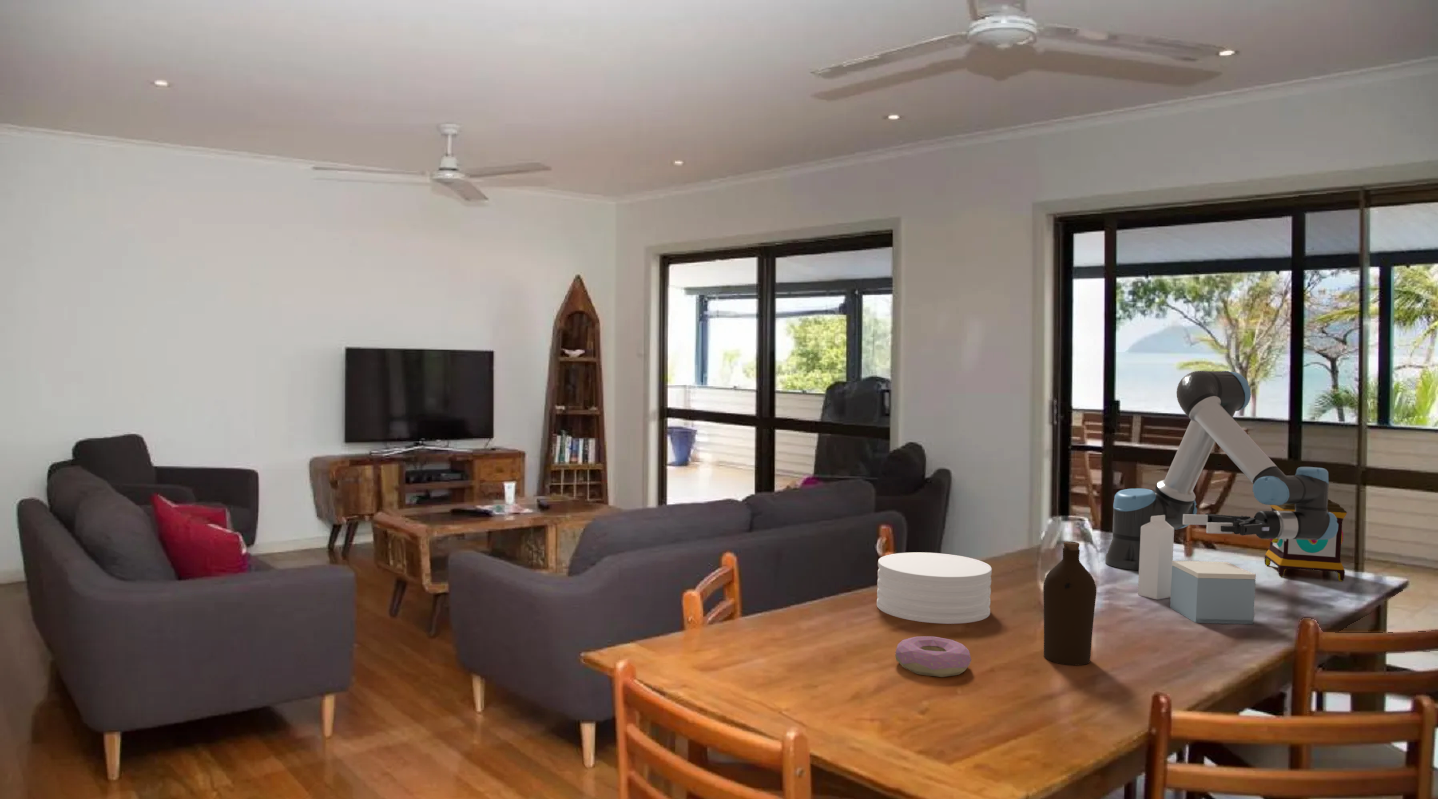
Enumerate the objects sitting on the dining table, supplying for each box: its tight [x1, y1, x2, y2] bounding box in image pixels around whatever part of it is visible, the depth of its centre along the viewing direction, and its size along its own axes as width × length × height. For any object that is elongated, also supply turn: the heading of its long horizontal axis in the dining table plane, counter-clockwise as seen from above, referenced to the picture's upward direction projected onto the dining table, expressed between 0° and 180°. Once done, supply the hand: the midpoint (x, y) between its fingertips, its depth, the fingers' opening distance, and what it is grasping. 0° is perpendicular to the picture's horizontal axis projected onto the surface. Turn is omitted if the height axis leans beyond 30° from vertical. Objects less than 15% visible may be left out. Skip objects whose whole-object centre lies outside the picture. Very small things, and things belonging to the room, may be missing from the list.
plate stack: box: [876, 551, 993, 625], centre depth 249 cm, size 28×28×12 cm
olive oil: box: [1042, 540, 1097, 666], centre depth 210 cm, size 11×11×25 cm
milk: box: [1137, 515, 1175, 600], centre depth 267 cm, size 6×6×22 cm
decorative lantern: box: [1264, 498, 1348, 582], centre depth 299 cm, size 20×20×30 cm
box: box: [1169, 566, 1257, 625], centre depth 248 cm, size 14×14×11 cm
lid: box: [1172, 560, 1257, 580], centre depth 248 cm, size 14×14×1 cm
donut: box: [894, 635, 972, 678], centre depth 203 cm, size 16×15×5 cm
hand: (1194, 523), depth 266 cm, fingers open, 13 cm apart
